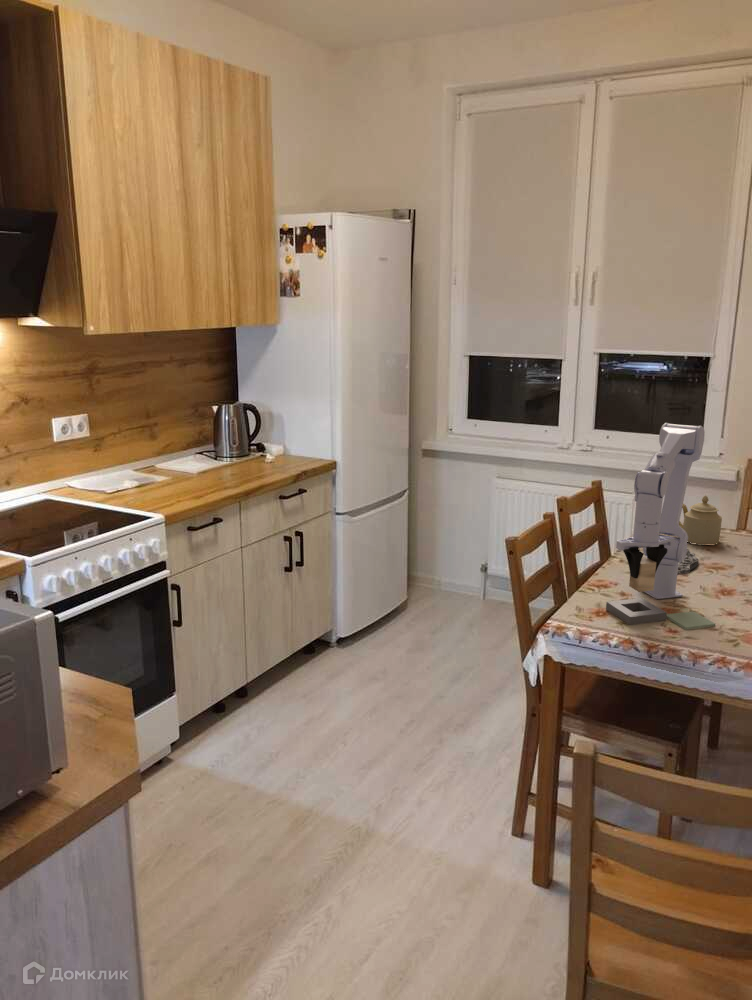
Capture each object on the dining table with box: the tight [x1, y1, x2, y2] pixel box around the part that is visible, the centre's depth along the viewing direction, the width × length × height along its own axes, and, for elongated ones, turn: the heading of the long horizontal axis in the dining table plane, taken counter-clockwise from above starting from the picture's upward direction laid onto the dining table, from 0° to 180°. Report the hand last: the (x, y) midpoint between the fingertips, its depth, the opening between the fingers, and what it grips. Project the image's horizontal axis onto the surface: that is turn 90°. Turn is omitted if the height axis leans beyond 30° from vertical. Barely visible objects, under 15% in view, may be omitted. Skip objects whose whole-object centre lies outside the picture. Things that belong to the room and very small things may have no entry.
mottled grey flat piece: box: [677, 548, 700, 575], centre depth 229 cm, size 28×2×10 cm
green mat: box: [666, 610, 716, 631], centre depth 184 cm, size 8×8×1 cm
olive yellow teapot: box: [679, 494, 723, 544], centre depth 247 cm, size 15×11×15 cm
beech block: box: [628, 556, 656, 593], centre depth 185 cm, size 4×4×7 cm
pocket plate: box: [605, 597, 668, 626], centre depth 188 cm, size 10×10×2 cm
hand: (642, 576), depth 185 cm, fingers closed on beech block, 4 cm apart
